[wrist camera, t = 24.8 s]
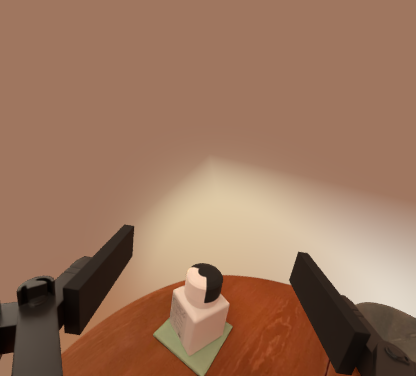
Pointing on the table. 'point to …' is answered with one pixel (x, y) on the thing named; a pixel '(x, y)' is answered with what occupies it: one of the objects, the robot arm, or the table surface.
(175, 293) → the container
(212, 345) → the mat
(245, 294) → the table surface
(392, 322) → the bowl
